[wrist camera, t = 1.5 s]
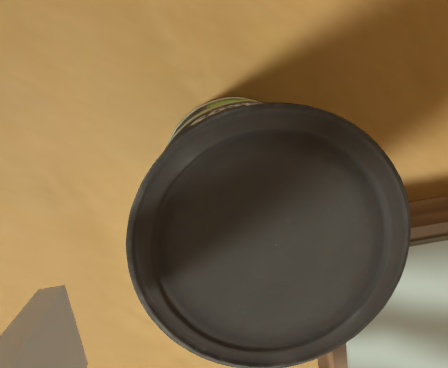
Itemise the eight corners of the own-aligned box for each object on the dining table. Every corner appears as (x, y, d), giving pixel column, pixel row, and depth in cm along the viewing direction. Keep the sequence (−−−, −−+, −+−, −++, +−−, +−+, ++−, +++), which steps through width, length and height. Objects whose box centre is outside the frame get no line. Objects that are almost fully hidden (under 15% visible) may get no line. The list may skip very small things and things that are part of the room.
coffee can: (167, 89, 24) (131, 85, 11) (311, 104, 25) (444, 119, 12) (158, 228, 27) (120, 368, 13) (289, 237, 28) (379, 376, 14)
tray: (304, 219, 28) (327, 246, 23) (476, 190, 28) (534, 211, 23) (318, 366, 31) (340, 416, 26) (470, 338, 32) (519, 382, 27)
